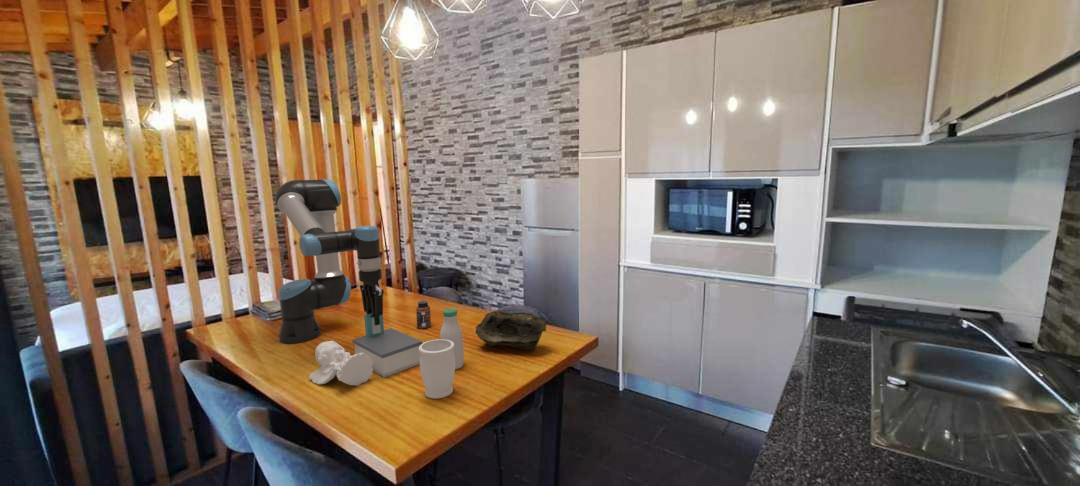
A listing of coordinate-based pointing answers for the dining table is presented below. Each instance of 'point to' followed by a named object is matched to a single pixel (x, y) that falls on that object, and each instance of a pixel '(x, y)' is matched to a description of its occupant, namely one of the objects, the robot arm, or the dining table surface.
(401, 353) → the tub
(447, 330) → the milk bottle
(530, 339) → the hollow geode rock
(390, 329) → the lid
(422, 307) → the supplement bottle
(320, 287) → the robot arm
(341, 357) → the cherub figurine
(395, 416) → the dining table surface
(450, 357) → the jar
